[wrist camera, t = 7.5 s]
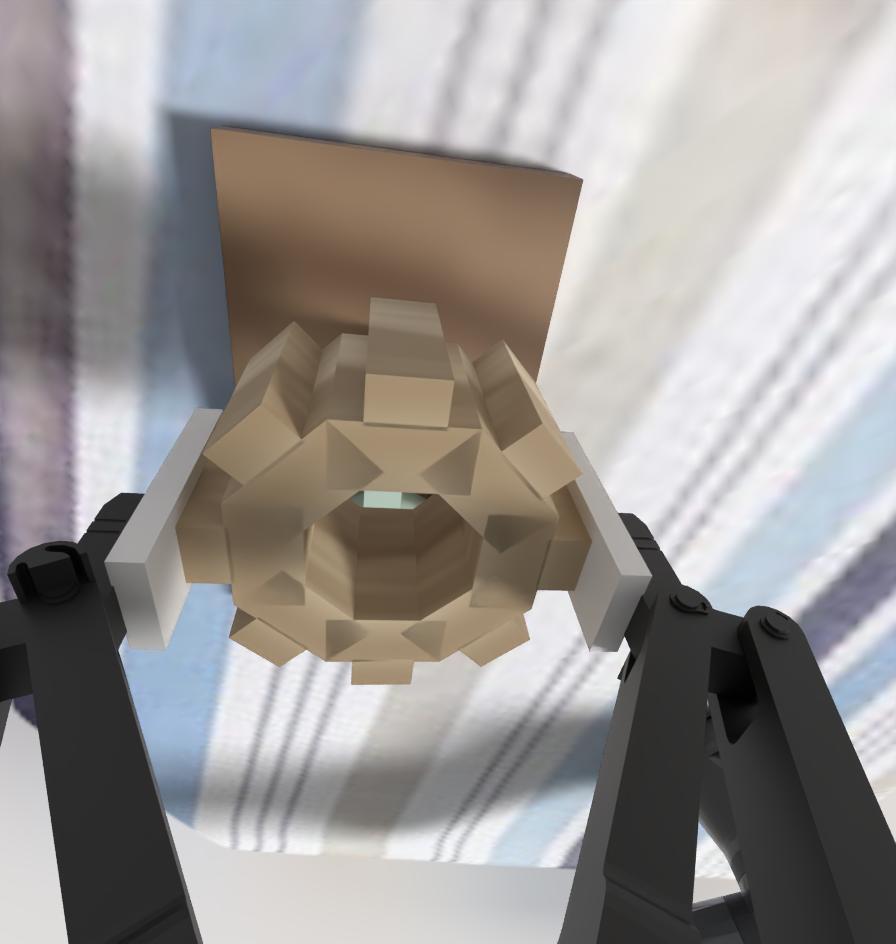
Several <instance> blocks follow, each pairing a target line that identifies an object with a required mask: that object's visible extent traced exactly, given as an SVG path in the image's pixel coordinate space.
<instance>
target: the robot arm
mask: <svg viewBox="0 0 896 944" xmlns="http://www.w3.org/2000/svg"><path fill="white" fill-rule="evenodd" d="M222 414H223V410H222V409H207V408H196V409H195V411H194V413H193V414H192V416H191V418H190V419H189V421H188V423H187V424H186V426H185V428H184V429H183V431H182V433H181V434H180V436H179V438H178V439H177V441H176V443H175V444H174V446H173V448H172V449H171V451H170V453H169V454H168V456H167V458H166V459H165V461H164V463H163V464H162V466H161V468H160V469H159V471H158V473H157V475H156V476H155V478H154V480H153V481H152V483H151V485H150V486H149V488H148V490H147V491H146V493H145V494H138V493H120V494H119V495H117V496H116V497H114V498H113V499H112V500H110V501H109V502H107V503H106V504H104V506H103V507H102V509H101V510H100V511H99V513H98V514H97V516H96V517H95V521H94V522H92V523H91V525H90V526H89V528H88V529H87V533H84V535H83V536H82V538H81V539H80V541H79V542H78V544H77V543H74V542H69V541H55V542H49V543H44V544H41V545H38V546H36V547H33V548H30V549H28V550H27V551H25V552H24V553H22V554H20V555H19V556H17V557H16V559H15V560H14V561H13V562H12V563H11V564H10V565H9V569H8V573H7V575H8V577H9V580H10V582H11V584H12V586H13V589H14V591H15V593H16V595H17V598H18V599H14V600H10V601H6V602H1V603H0V746H1V742H2V738H3V734H4V730H5V726H6V722H7V717H8V713H9V709H10V705H11V701H12V699H14V698H17V697H21V696H25V695H29V694H33V697H34V704H35V711H36V718H37V725H38V732H39V739H40V746H41V753H42V760H43V767H44V774H45V781H46V788H47V795H48V802H49V809H50V816H51V823H52V830H53V837H54V844H55V851H56V858H57V865H58V871H59V880H60V887H61V893H62V899H63V900H62V901H63V908H64V915H65V922H66V929H67V935H68V943H69V944H203V941H202V938H201V934H200V931H199V928H198V924H197V920H196V917H195V914H194V910H193V907H192V903H191V900H190V896H189V893H188V889H187V886H186V882H185V879H184V875H183V872H182V868H181V865H180V861H179V858H178V855H177V851H176V848H175V844H174V841H173V837H172V834H171V831H170V827H169V823H168V820H167V816H166V813H165V809H164V806H163V803H162V799H161V796H160V792H159V789H158V785H157V782H156V778H155V775H154V771H153V768H152V764H151V761H150V758H149V754H148V751H147V747H146V744H145V740H144V737H143V733H142V730H141V726H140V723H139V719H138V716H137V712H136V709H135V706H134V702H133V699H132V695H131V692H130V688H129V685H128V681H127V678H126V674H125V671H124V667H123V664H122V660H121V657H120V654H119V651H118V649H119V647H120V645H121V643H122V641H123V639H124V637H125V635H126V636H127V640H128V643H129V646H130V650H166V648H167V646H168V643H169V641H170V638H171V636H172V633H173V631H174V628H175V626H176V623H177V620H178V618H179V615H180V613H181V610H182V608H183V605H184V603H185V600H186V598H187V595H188V593H189V590H190V587H191V585H192V583H186V581H185V576H184V571H183V566H182V560H181V555H180V550H179V545H178V540H177V535H176V530H175V527H176V525H177V522H178V520H179V518H180V516H181V514H182V512H183V510H184V508H185V506H186V504H187V502H188V500H189V498H190V496H191V493H192V491H193V489H194V487H195V485H196V483H197V481H198V479H199V477H200V475H201V473H202V471H203V469H204V467H205V464H206V462H207V460H208V458H207V457H205V456H204V455H203V452H204V450H205V448H206V446H207V444H208V442H209V440H210V438H211V436H212V434H213V432H214V430H215V428H216V426H217V424H218V422H219V420H220V418H221V416H222ZM561 433H562V435H563V437H564V439H565V441H566V443H567V445H568V447H569V449H570V451H571V453H572V455H573V456H574V458H575V460H576V462H577V464H578V466H579V468H580V470H581V472H582V475H581V476H579V477H578V478H576V479H574V480H573V481H571V482H570V483H568V484H567V485H566V486H567V488H568V490H569V492H570V494H571V497H572V499H573V501H574V503H575V505H576V507H577V510H578V512H579V514H580V516H581V518H582V521H583V523H584V525H585V527H586V529H587V531H588V534H589V536H590V538H591V540H592V544H591V546H590V549H589V552H588V555H587V558H586V560H585V563H584V566H583V569H582V571H581V574H580V577H579V580H578V583H577V585H576V588H575V591H568V593H569V596H570V599H571V601H572V604H573V607H574V610H575V612H576V615H577V618H578V621H579V623H580V626H581V629H582V632H583V634H584V637H585V640H586V643H587V645H588V648H589V651H593V652H618V649H619V647H620V645H621V643H622V641H623V639H624V636H625V638H626V640H627V643H628V645H629V647H630V653H629V655H628V657H627V659H626V661H625V663H624V665H623V667H622V669H621V671H620V673H619V675H618V678H617V679H619V680H621V683H620V687H619V691H618V696H617V700H616V704H615V708H614V712H613V717H612V721H611V725H610V729H609V733H608V738H607V742H606V746H605V750H604V754H603V759H602V763H601V767H600V771H599V775H598V780H597V784H596V788H595V792H594V796H593V801H592V805H591V809H590V813H589V818H588V822H587V826H586V830H585V834H584V839H583V843H582V847H581V851H580V855H579V860H578V864H577V868H576V872H575V876H574V881H573V885H572V889H571V893H570V897H569V902H568V906H567V910H566V914H565V919H564V923H563V927H562V930H561V934H560V938H559V941H558V943H557V944H896V843H895V841H894V838H893V836H892V834H891V831H890V829H889V827H888V825H887V822H886V820H885V818H884V816H883V813H882V811H881V809H880V806H879V804H878V802H877V799H876V797H875V795H874V793H873V790H872V788H871V786H870V783H869V781H868V779H867V776H866V774H865V772H864V770H863V767H862V765H861V763H860V760H859V758H858V756H857V754H856V751H855V749H854V747H853V744H852V742H851V740H850V738H849V735H848V733H847V731H846V728H845V726H844V724H843V722H842V719H841V717H840V715H839V712H838V710H837V708H836V706H835V703H834V701H833V699H832V696H831V694H830V692H829V689H828V687H827V685H826V683H825V680H824V678H823V676H822V673H821V671H820V669H819V667H818V664H817V662H816V660H815V657H814V655H813V653H812V651H811V648H810V646H809V644H808V641H807V639H806V637H805V635H804V633H803V631H802V630H801V628H800V627H799V625H798V624H797V623H796V622H795V621H793V620H792V619H791V618H790V617H789V616H787V615H785V614H784V613H782V612H780V611H778V610H776V609H773V608H770V607H766V606H755V607H752V608H750V609H749V610H748V612H747V613H746V615H745V616H744V618H743V617H739V616H736V615H732V614H728V613H725V612H721V611H717V610H715V609H712V606H711V604H710V603H709V601H708V600H707V599H706V598H705V597H704V596H703V595H702V594H700V593H699V592H698V591H696V590H694V589H692V588H690V587H688V586H685V585H682V584H681V582H680V581H679V579H678V577H677V576H676V574H675V572H674V571H673V569H672V567H671V566H670V564H669V562H668V561H667V559H666V557H665V556H664V554H663V552H662V551H660V547H659V546H658V544H657V542H656V541H655V540H654V537H653V536H652V534H651V532H650V531H649V529H648V527H647V526H646V525H645V524H644V523H643V522H642V521H641V520H640V519H639V518H637V517H636V516H635V515H634V514H630V513H617V511H616V509H615V507H614V505H613V504H612V502H611V500H610V498H609V496H608V494H607V493H606V491H605V489H604V487H603V485H602V484H601V482H600V480H599V478H598V476H597V475H596V473H595V471H594V469H593V467H592V465H591V464H590V462H589V460H588V458H587V456H586V455H585V453H584V451H583V449H582V447H581V445H580V444H579V442H578V440H577V438H576V436H575V435H574V433H573V432H561ZM707 699H708V703H709V708H710V712H711V717H712V718H711V719H709V720H707V721H706V712H707ZM698 821H699V822H700V824H701V825H702V826H703V828H704V829H705V830H706V832H707V833H708V834H709V835H710V837H711V838H712V839H713V841H714V842H715V843H716V844H717V846H718V847H719V848H720V849H721V851H722V852H723V853H724V855H725V857H726V858H727V860H728V862H729V865H730V867H731V869H732V871H733V873H734V875H735V878H736V880H737V882H738V884H739V887H740V889H741V892H738V893H734V894H730V895H726V896H723V897H722V896H721V897H717V898H713V899H709V900H705V901H701V902H697V903H693V904H692V902H693V888H694V876H695V862H696V848H697V835H698Z"/></svg>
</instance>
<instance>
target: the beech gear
mask: <svg viewBox="0 0 896 944" xmlns="http://www.w3.org/2000/svg"><path fill="white" fill-rule="evenodd" d="M203 455H204V456H205V457H207V458H208V460H207V462H206V464H205V467H204V469H203V471H202V473H201V475H200V477H199V479H198V481H197V483H196V485H195V487H194V489H193V491H192V493H191V496H190V498H189V500H188V502H187V504H186V506H185V508H184V510H183V512H182V514H181V516H180V518H179V520H178V522H177V525H176V527H175V530H176V535H177V540H178V545H179V550H180V555H181V560H182V566H183V571H184V576H185V581H186V583H213V584H231V587H232V595H233V603H234V605H235V606H237V611H236V614H235V618H234V621H233V625H232V628H231V632H230V635H229V638H230V639H232V640H233V641H235V642H237V643H239V644H240V645H242V646H244V647H246V648H247V649H249V650H251V651H252V652H254V653H256V654H258V655H259V656H261V657H263V658H265V659H266V660H268V661H270V662H271V663H273V664H275V665H277V666H278V667H280V666H282V665H283V664H285V663H286V662H288V661H289V660H291V659H293V658H294V657H296V656H297V655H299V654H300V653H302V652H304V651H305V650H308V651H309V652H311V653H313V654H314V655H316V656H317V657H319V658H321V659H322V660H324V661H325V662H352V677H351V685H380V684H411V678H412V671H413V664H414V662H439V661H441V660H443V659H445V658H446V657H448V656H450V655H452V654H453V653H455V652H457V651H459V650H460V651H461V652H462V653H464V654H465V655H466V656H467V657H469V658H470V659H471V660H473V661H474V662H475V663H477V664H478V665H479V666H483V665H485V664H487V663H489V662H490V661H492V660H494V659H496V658H498V657H499V656H501V655H503V654H505V653H507V652H508V651H510V650H512V649H514V648H516V647H518V646H519V645H521V644H523V643H525V642H527V641H528V640H530V638H529V634H528V630H527V626H526V623H525V619H524V615H523V613H525V612H527V611H529V610H530V609H532V605H533V602H534V599H535V596H536V592H537V590H562V591H575V588H576V585H577V583H578V580H579V577H580V574H581V571H582V569H583V566H584V563H585V560H586V558H587V555H588V552H589V549H590V546H591V544H592V540H591V538H590V536H589V534H588V531H587V529H586V527H585V525H584V523H583V521H582V518H581V516H580V514H579V512H578V510H577V507H576V505H575V503H574V501H573V499H572V497H571V494H570V492H569V490H568V488H567V486H566V485H567V484H568V483H570V482H571V481H573V480H574V479H576V478H578V477H579V476H581V475H582V472H581V470H580V468H579V466H578V464H577V462H576V460H575V458H574V456H573V455H572V453H571V451H570V449H569V447H568V445H567V443H566V441H565V439H564V437H563V435H562V433H561V431H560V429H559V427H558V426H557V424H556V422H555V420H554V418H553V416H552V414H551V412H550V410H549V408H548V406H547V404H546V402H545V400H544V398H543V397H542V395H541V393H540V391H539V389H538V387H537V385H536V383H535V381H534V380H533V379H532V378H531V376H530V375H529V374H528V372H527V371H526V370H525V368H524V367H523V366H522V364H521V363H520V362H519V360H518V359H517V358H516V356H515V355H514V354H513V352H512V351H511V350H510V349H509V347H508V346H507V345H506V343H505V342H504V341H503V339H502V340H501V341H500V342H498V343H497V344H496V345H494V346H493V347H492V348H490V349H489V350H488V351H487V352H485V353H484V354H483V355H481V356H480V357H479V358H477V359H476V360H475V361H473V362H472V361H471V360H470V358H469V357H468V356H467V355H466V353H465V352H464V351H463V350H462V349H461V347H460V346H459V345H458V344H457V343H447V342H445V339H444V335H443V331H442V327H441V322H440V318H439V314H438V310H437V306H436V304H435V303H425V302H415V301H405V300H394V299H384V298H374V297H371V303H370V318H369V332H368V336H366V335H355V334H343V333H342V334H341V335H340V336H338V337H337V338H336V339H335V340H334V341H332V342H331V343H330V344H329V345H328V346H327V347H325V348H324V349H322V348H321V347H320V346H319V345H318V344H317V343H316V342H315V341H314V340H313V339H312V338H311V337H310V336H309V335H308V334H307V333H306V332H305V331H304V330H303V329H302V328H301V327H300V326H299V325H298V324H297V323H296V322H295V321H293V322H292V323H291V324H290V325H289V326H288V327H286V328H285V329H284V330H283V331H282V332H281V333H280V334H279V335H277V336H276V337H275V338H274V339H273V340H272V341H271V342H269V343H268V344H267V345H266V346H265V347H264V348H263V349H262V350H260V351H259V352H258V353H257V354H256V355H255V356H254V357H252V358H251V359H250V360H249V362H248V364H247V366H246V368H245V370H244V372H243V374H242V376H241V378H240V380H239V382H238V384H237V386H236V388H235V390H234V392H233V394H232V396H231V398H230V400H229V402H228V404H227V406H226V408H225V410H224V412H223V414H222V416H221V418H220V420H219V422H218V424H217V426H216V428H215V430H214V432H213V434H212V436H211V438H210V440H209V442H208V444H207V446H206V448H205V450H204V452H203ZM358 491H382V492H404V493H426V494H434V495H433V496H431V497H430V498H428V499H427V500H425V501H424V502H422V503H421V504H419V505H418V506H417V507H415V508H414V509H398V508H374V507H360V506H359V505H358V504H356V503H355V502H354V501H353V500H352V499H350V497H351V496H353V495H354V494H356V493H357V492H358Z"/></svg>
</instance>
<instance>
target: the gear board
mask: <svg viewBox="0 0 896 944" xmlns="http://www.w3.org/2000/svg"><path fill="white" fill-rule="evenodd" d="M211 140H212V150H213V160H214V171H215V181H216V192H217V202H218V212H219V223H220V233H221V244H222V254H223V265H224V275H225V285H226V296H227V306H228V317H229V327H230V338H231V348H232V358H233V369H234V379H235V388H236V386H237V384H238V382H239V380H240V378H241V376H242V374H243V372H244V370H245V368H246V366H247V364H248V362H249V360H250V359H251V358H252V357H254V356H255V355H256V354H257V353H258V352H259V351H260V350H262V349H263V348H264V347H265V346H266V345H267V344H268V343H269V342H271V341H272V340H273V339H274V338H275V337H276V336H277V335H279V334H280V333H281V332H282V331H283V330H284V329H285V328H286V327H288V326H289V325H290V324H291V323H292V322H293V321H295V322H296V323H297V324H298V325H299V326H300V327H301V328H302V329H303V330H304V331H305V332H306V333H307V334H308V335H309V336H310V337H311V338H312V339H313V340H314V341H315V342H316V343H317V344H318V345H319V346H320V347H321V348H322V349H324V348H325V347H327V346H328V345H329V344H330V343H331V342H332V341H334V340H335V339H336V338H337V337H338V336H340V335H341V334H342V333H343V334H355V335H366V336H368V332H369V318H370V303H371V297H374V298H384V299H394V300H405V301H415V302H425V303H435V304H436V306H437V310H438V314H439V318H440V322H441V327H442V331H443V335H444V339H445V342H447V343H457V344H458V345H459V346H460V347H461V349H462V350H463V351H464V352H465V353H466V355H467V356H468V357H469V358H470V360H471V361H472V362H473V361H475V360H476V359H477V358H479V357H480V356H481V355H483V354H484V353H485V352H487V351H488V350H489V349H490V348H492V347H493V346H494V345H496V344H497V343H498V342H500V341H501V340H502V339H503V341H504V342H505V343H506V345H507V346H508V347H509V349H510V350H511V351H512V352H513V354H514V355H515V356H516V358H517V359H518V360H519V362H520V363H521V364H522V366H523V367H524V368H525V370H526V371H527V372H528V374H529V375H530V376H531V378H532V379H533V380H534V381H535V383H536V381H537V376H538V372H539V368H540V363H541V359H542V355H543V351H544V346H545V342H546V338H547V333H548V329H549V325H550V320H551V316H552V312H553V308H554V303H555V299H556V295H557V290H558V286H559V282H560V278H561V273H562V269H563V265H564V260H565V256H566V252H567V247H568V243H569V239H570V235H571V230H572V226H573V222H574V217H575V213H576V209H577V204H578V200H579V196H580V192H581V187H582V183H583V179H581V178H578V177H576V176H574V175H571V174H568V173H561V172H554V171H546V170H539V169H532V168H525V167H517V166H510V165H503V164H495V163H488V162H481V161H474V160H466V159H459V158H452V157H445V156H437V155H430V154H423V153H416V152H408V151H401V150H394V149H387V148H379V147H372V146H365V145H358V144H350V143H343V142H336V141H329V140H321V139H314V138H307V137H300V136H292V135H285V134H278V133H271V132H263V131H256V130H249V129H242V128H234V127H227V126H222V127H216V128H211ZM415 494H418V495H420V496H422V497H424V498H425V499H428V498H429V497H430V496H432V495H433V494H426V493H415Z"/></svg>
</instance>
